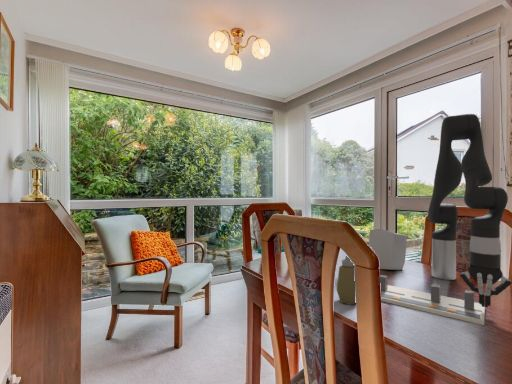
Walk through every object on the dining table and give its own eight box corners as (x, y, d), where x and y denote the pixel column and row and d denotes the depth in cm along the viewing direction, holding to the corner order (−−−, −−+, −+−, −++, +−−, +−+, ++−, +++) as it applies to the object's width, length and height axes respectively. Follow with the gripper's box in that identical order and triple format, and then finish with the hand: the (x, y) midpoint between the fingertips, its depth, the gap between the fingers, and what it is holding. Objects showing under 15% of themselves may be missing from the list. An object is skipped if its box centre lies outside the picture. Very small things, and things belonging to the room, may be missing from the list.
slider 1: (380, 287, 110) (380, 274, 110) (387, 289, 108) (387, 275, 108) (378, 289, 108) (378, 276, 108) (385, 291, 106) (385, 277, 106)
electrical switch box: (410, 273, 143) (414, 233, 145) (390, 272, 137) (394, 230, 138) (385, 266, 157) (389, 229, 158) (365, 265, 150) (370, 227, 151)
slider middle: (432, 298, 99) (432, 284, 99) (440, 300, 98) (440, 285, 98) (430, 300, 97) (431, 286, 97) (439, 302, 95) (439, 287, 95)
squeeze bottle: (333, 297, 104) (333, 248, 104) (354, 297, 105) (355, 247, 104) (341, 306, 96) (342, 252, 96) (365, 305, 96) (365, 252, 96)
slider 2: (464, 305, 93) (465, 289, 93) (474, 307, 92) (474, 291, 92) (464, 308, 91) (464, 292, 91) (473, 310, 90) (473, 294, 90)
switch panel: (383, 287, 116) (383, 283, 116) (484, 307, 95) (485, 303, 95) (370, 298, 103) (370, 294, 103) (484, 325, 83) (484, 319, 83)
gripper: (512, 251, 88) (512, 308, 88) (459, 246, 96) (459, 297, 96) (514, 256, 82) (513, 316, 82) (458, 250, 90) (457, 304, 90)
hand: (484, 306), depth 89 cm, fingers closed
